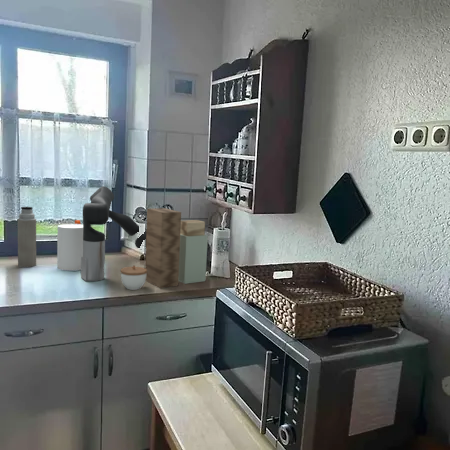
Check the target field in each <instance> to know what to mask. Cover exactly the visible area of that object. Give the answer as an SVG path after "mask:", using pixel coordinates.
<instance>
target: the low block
mask: <svg viewBox="0 0 450 450" xmlns="http://www.w3.org/2000/svg"><path fill="white" fill-rule="evenodd" d="M208 237H209V236H208V235H207V234H204V235H199V236H185V235H182V234H180V254H179V277H178V282H179V283H182V284H184V285H186V284H193V283H200V282H205V281H206V279H207V277H206V275H207V260H208V259H207V258H208V256H207V255H208V242H209V241H208Z"/></svg>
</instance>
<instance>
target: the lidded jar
mask: <svg viewBox="0 0 450 450" xmlns="http://www.w3.org/2000/svg"><path fill="white" fill-rule="evenodd" d="M146 276H147V269H145V267H141V266H136V265H132V266H126V267H122V268H121V269H120V280H121V284H122V285H123V286H124V287H125V289H126V290H131V291H132V290H133V291H134V290H135V291H136V290H141V288H142V287H143V286H144V285H145V283H146V282H147V281H146Z"/></svg>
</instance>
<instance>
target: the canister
mask: <svg viewBox="0 0 450 450" xmlns="http://www.w3.org/2000/svg"><path fill="white" fill-rule="evenodd" d="M56 239H57V242H56V243H57V246H56V247H57V257H56V258H57V260H56V261H57V263H56V266H57V269H58V270H61V271H81V257H83V223H81V224H75V223H63V224H58V225H57V238H56Z"/></svg>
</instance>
